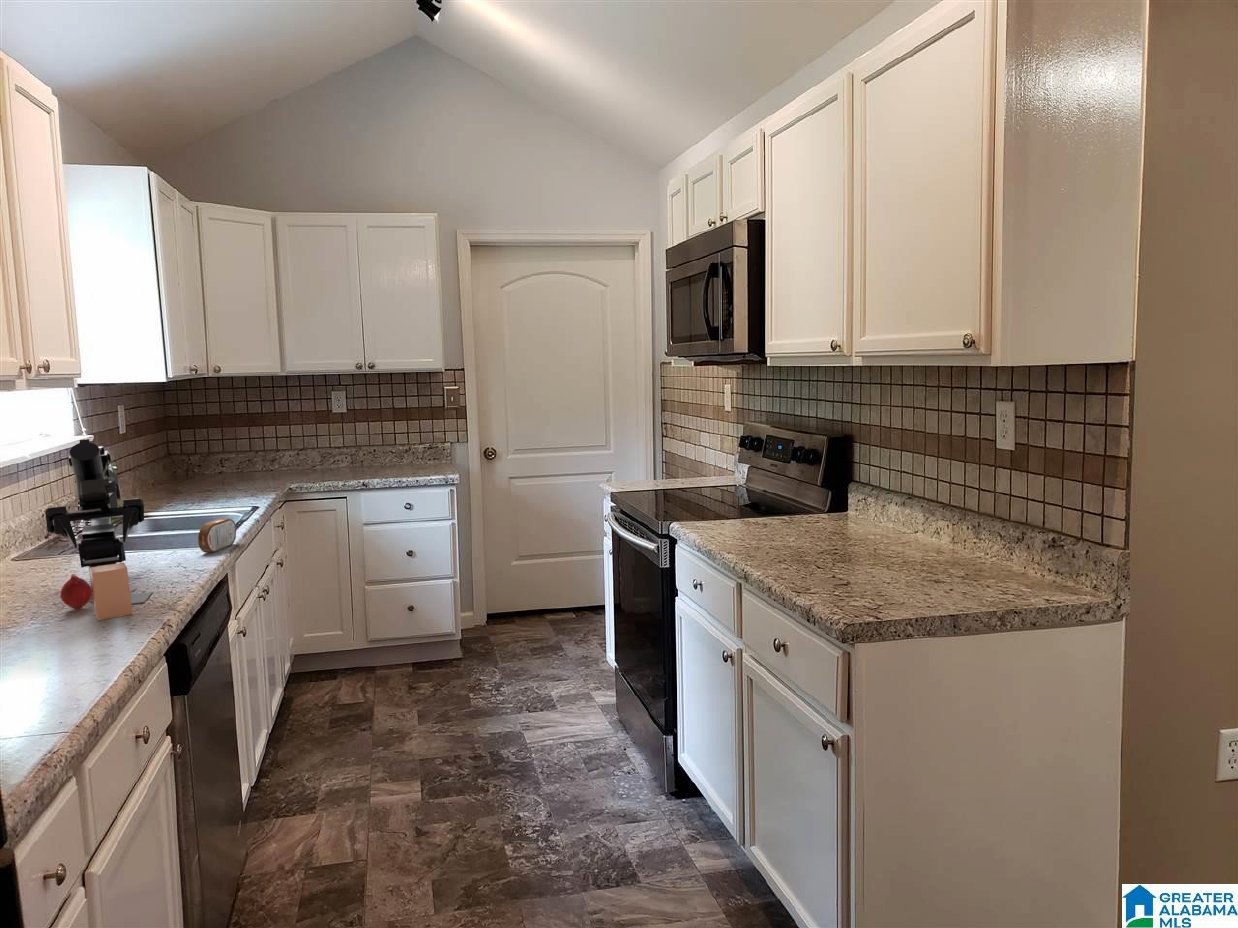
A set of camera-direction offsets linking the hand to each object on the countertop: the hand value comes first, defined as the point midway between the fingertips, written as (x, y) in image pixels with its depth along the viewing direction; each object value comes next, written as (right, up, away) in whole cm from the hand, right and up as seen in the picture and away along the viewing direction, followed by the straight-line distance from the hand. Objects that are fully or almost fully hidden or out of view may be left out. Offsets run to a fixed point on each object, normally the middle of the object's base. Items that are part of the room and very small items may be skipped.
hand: (100, 544), depth 195 cm
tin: (0, -7, +58) cm, 58 cm away
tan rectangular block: (+5, -14, -4) cm, 16 cm away
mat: (+2, -13, +6) cm, 15 cm away
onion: (-5, -14, 0) cm, 15 cm away
